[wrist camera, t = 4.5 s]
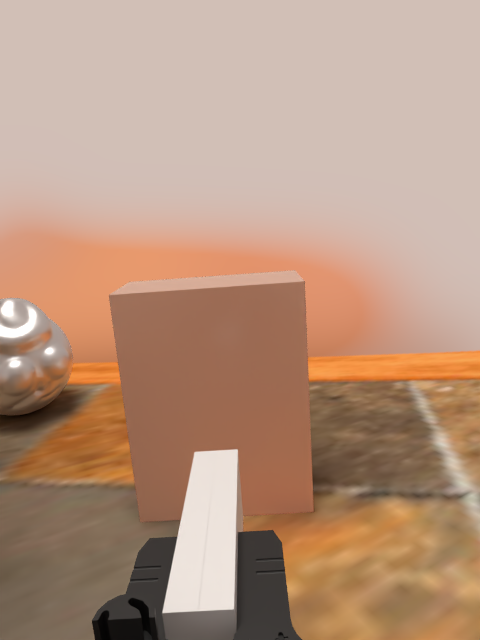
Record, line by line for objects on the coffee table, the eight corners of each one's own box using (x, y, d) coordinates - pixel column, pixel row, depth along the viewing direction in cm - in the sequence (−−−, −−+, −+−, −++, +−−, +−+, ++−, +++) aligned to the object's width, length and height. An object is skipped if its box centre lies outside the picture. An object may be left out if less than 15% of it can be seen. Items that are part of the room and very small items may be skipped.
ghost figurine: (-56, 446, 34) (-88, 314, 32) (-11, 398, 43) (-33, 292, 41) (71, 428, 35) (50, 301, 33) (88, 385, 44) (72, 283, 42)
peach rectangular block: (154, 478, 28) (129, 281, 25) (303, 469, 28) (294, 270, 25) (140, 522, 24) (108, 294, 21) (313, 511, 24) (304, 281, 21)
